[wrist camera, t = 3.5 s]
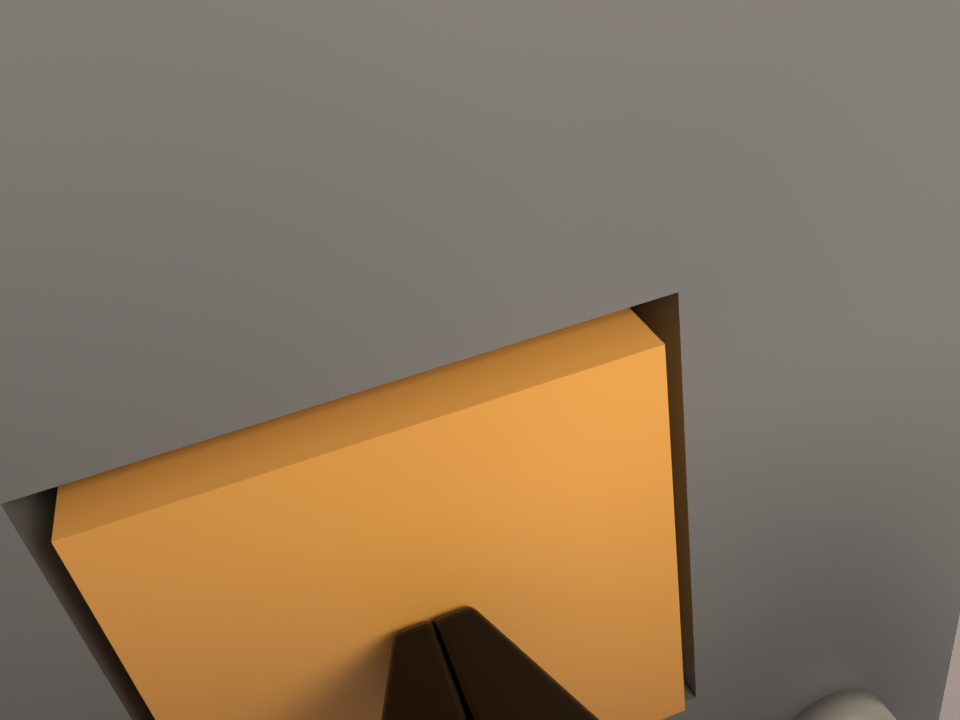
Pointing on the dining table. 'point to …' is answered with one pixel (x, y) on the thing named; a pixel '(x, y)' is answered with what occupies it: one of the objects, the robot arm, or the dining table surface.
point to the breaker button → (401, 536)
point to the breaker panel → (507, 285)
